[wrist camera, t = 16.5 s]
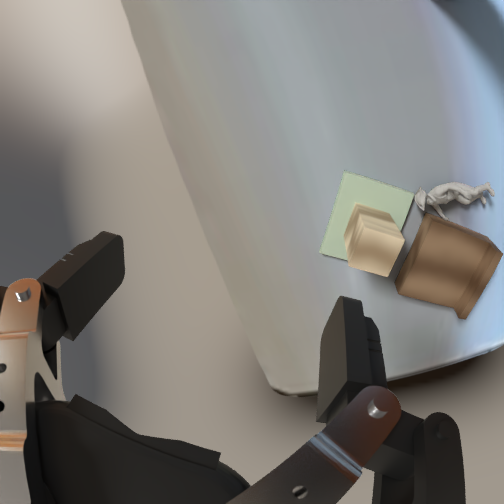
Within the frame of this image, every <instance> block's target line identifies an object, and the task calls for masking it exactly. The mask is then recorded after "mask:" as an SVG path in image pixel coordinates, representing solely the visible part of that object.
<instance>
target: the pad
mask: <svg viewBox="0 0 504 504" xmlns="http://www.w3.org/2000/svg"><path fill="white" fill-rule="evenodd" d="M413 197H414V194H413V193H412V192H409V191H407V190H404V189H401V188H398V187H395V186H392V185H389V184H386V183H383V182H380V181H377V180H374V179H371V178H368V177H365V176H362V175H358V174H355V173H352V172H348V171H345V170H344V172H343V176H342V179H341V183H340V186H339V190H338V193H337V196H336V200H335V203H334V206H333V210H332V213H331V216H330V219H329V222H328V225H327V229H326V232H325V235H324V238H323V241H322V244H321V247H320V250H319V253H321V254H325V255H329V256H333V257H336V258H340V259H344V260H348V258H347V252H346V247H345V241H344V236H343V235H344V233H345V230H346V227H347V225H348V222H349V219H350V216H351V214H352V211H353V208H354V205H355V202H356V203H360V204H363V205H366V206H369V207H372V208H375V209H378V210H381V211H384V212H387V213H390V215H391V217H392V218H393V220H394V222H395V224H396V225H397V227H398V229H399V231H401V228H402V226H403V223H404V221H405V218H406V216H407V213H408V211H409V208H410V205H411V203H412V200H413Z"/></svg>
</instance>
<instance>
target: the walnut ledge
mask: <svg viewBox="0 0 504 504" xmlns="http://www.w3.org/2000/svg"><path fill="white" fill-rule="evenodd" d="M502 255H503V253H502V252H501V251H500V250H499V249H498V248H497V247H496V246H495V244H494V243H493V242H492V241H491V240H490V239H489V238H488V237H487V236H484V235H482V234H480V233H477V232H475V231H473V230H470V229H468V228H465V227H463V226H460V225H458V224H455V223H453V222H450V221H445V220H444V219H442V218H440V217H437V216H434V215H432V214H429V213H425V215H424V218H423V220H422V223H421V225H420V228H419V230H418V233H417V235H416V237H415V240H414V242H413V244H412V246H411V249H410V251H409V253H408V255H407V258H406V260H405V262H404V264H403V266H402V268H401V270H400V272H399V275H398V277H397V279H396V281H395V285H396V288H397V291H398V294H400V295H404V296H408V297H412V298H416V299H420V300H424V301H428V302H432V303H436V304H440V305H444V306H448V307H452V308H454V309H455V311H456V313H457V316H458V318H460V319H466V318H467V316H468V315H469V313H470V312H471V310H472V308H473V307H474V305H475V304H476V302H477V300H478V299H479V297H480V296H481V294H482V292H483V290H484V289H485V287H486V285H487V284H488V282H489V280H490V278H491V276H492V275H493V273H494V271H495V269H496V267H497V265H498V263H499V261H500V259H501V257H502Z"/></svg>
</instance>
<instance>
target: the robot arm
mask: <svg viewBox="0 0 504 504" xmlns="http://www.w3.org/2000/svg"><path fill="white" fill-rule="evenodd" d="M124 275H125V265H124V247H123V239H122V237H121V236H119V235H116V234H112V233H109V232H105V231H103V232H101V233H99V234H98V235H97V236H96V237H94V238H93V239H92V240H89V241H86V242H84V243H82V244H79V245H78V246H76V247H75V248H74V249H73V250H71V251H70V252H69V254H66V255H65V256H64V257H63V258H62V260H59V261H58V262H57V263H55V264H54V265H53V266H52V267H51V268H50V269H48V270H47V271H46V272H45V273H44V274H43V275H42V276H40V277H39V278H38V279H37V280H35V279H31V278H24V279H20V280H18V281H16V282H14V283H13V284H11V285H10V286H9V287H3V286H0V504H336V503H337V502H338V501H339V500H340V499H341V498H342V497H343V496H344V495H345V494H346V493H347V491H348V490H349V489H350V488H351V487H352V486H353V485H354V484H355V482H356V481H357V480H358V479H359V477H360V476H361V474H362V472H361V469H362V468H363V467H364V468H366V469H369V470H372V471H374V472H375V473H374V487H373V497H372V504H466V501H465V500H466V499H465V479H464V466H463V456H462V447H461V440H460V433H459V429H458V426H457V424H456V422H455V421H454V420H453V419H452V418H451V417H450V416H449V415H447V414H445V413H441V412H436V413H433V414H431V415H429V416H428V417H427V418H426V419H425V420H424V419H421V418H419V417H416V416H414V415H411V414H409V413H407V412H405V411H403V410H401V405H400V403H399V400H398V399H397V397H396V396H395V395H394V394H393V393H392V392H391V391H390V390H388V388H387V381H386V373H385V366H384V359H383V353H382V347H381V344H380V335H379V330H378V328H377V326H376V325H375V323H374V322H373V320H372V318H369V317H365V316H364V313H363V306H362V302H361V300H356V299H352V298H348V297H344V296H340V297H339V298H338V300H337V302H336V304H335V306H334V308H333V311H332V313H331V315H330V317H329V319H328V321H327V324H326V326H325V328H324V331H323V334H322V338H321V346H320V369H319V387H318V403H317V416H316V422H321V423H326V427H325V428H324V429H323V430H322V431H321V432H320V433H319V434H317V435H315V436H313V437H312V438H311V439H310V440H309V441H308V442H306V443H305V444H304V445H303V446H302V447H301V448H300V449H298V450H297V451H296V452H295V453H294V454H292V455H291V456H290V457H289V458H288V459H286V460H285V461H284V462H283V463H281V464H280V465H279V466H278V467H276V468H275V469H274V470H272V471H271V472H270V473H269V474H267V475H266V476H265V477H263V478H262V479H261V480H259V481H258V482H257V483H255V484H254V485H252V486H250V485H249V483H248V482H247V481H246V480H245V479H244V478H243V477H242V476H241V475H239V474H238V473H237V472H236V471H235V470H233V469H232V468H230V467H229V466H227V465H225V464H223V463H221V462H220V461H219V458H220V455H221V453H220V452H216V451H213V450H209V449H205V448H202V447H199V446H196V445H193V444H190V443H187V442H184V441H180V440H171V439H164V438H157V437H150V436H144V435H139V434H137V433H135V432H134V431H132V430H131V429H130V428H128V427H127V426H126V425H124V424H123V423H122V422H120V421H119V420H118V419H117V418H116V417H114V416H113V415H112V414H110V413H109V412H108V411H107V410H105V409H103V408H101V407H99V406H97V405H95V404H93V403H92V402H90V401H88V400H86V399H84V398H82V397H80V396H78V395H77V394H76V395H75V396H74V397H73V399H72V400H71V402H69V401H66V399H65V396H64V393H63V389H62V379H61V358H60V343H59V339H60V338H61V337H62V336H64V337H66V338H68V339H70V340H72V341H74V340H75V338H76V337H77V336H78V335H79V333H80V332H81V331H82V330H83V329H84V327H85V326H86V325H87V324H88V322H89V321H90V320H91V319H92V318H93V316H94V315H95V314H96V313H97V312H98V310H99V309H100V308H101V307H102V306H103V305H104V303H105V302H106V301H107V300H108V299H109V298H110V296H111V295H112V294H113V293H114V292H115V291H116V290H117V288H118V287H119V286H120V285H121V283H122V281H123V279H124Z"/></svg>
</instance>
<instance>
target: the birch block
mask: <svg viewBox="0 0 504 504" xmlns="http://www.w3.org/2000/svg"><path fill="white" fill-rule="evenodd" d="M343 236H344V241H345V247H346V252H347V258H348V264H349V266H350V267H353V268H357V269H360V270H364V271H367V272H371V273H374V274H378V275H381V276H385V277H388V275H389V273H390V271H391V269H392V267H393V265H394V263H395V261H396V259H397V257H398V254H399V252H400V250H401V248H402V246H403V244H404V241H405V239H404V238H403V236H402V234H401V232H400V231H399V229H398V227H397V225H396V224H395V222H394V220H393V218H392V217H391V215H390V213H387V212H384V211H381V210H378V209H375V208H372V207H369V206H366V205H363V204H360V203H356V202H355V205H354V208H353V211H352V214H351V216H350V219H349V222H348V225H347V227H346V230H345V233H344V235H343Z"/></svg>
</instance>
